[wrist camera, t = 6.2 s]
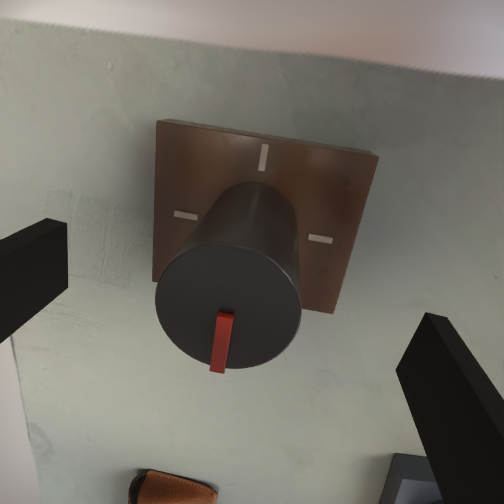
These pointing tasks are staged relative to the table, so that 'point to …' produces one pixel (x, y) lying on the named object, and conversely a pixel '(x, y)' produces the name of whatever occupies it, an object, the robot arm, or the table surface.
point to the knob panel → (273, 175)
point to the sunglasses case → (168, 490)
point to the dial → (235, 281)
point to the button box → (411, 482)
